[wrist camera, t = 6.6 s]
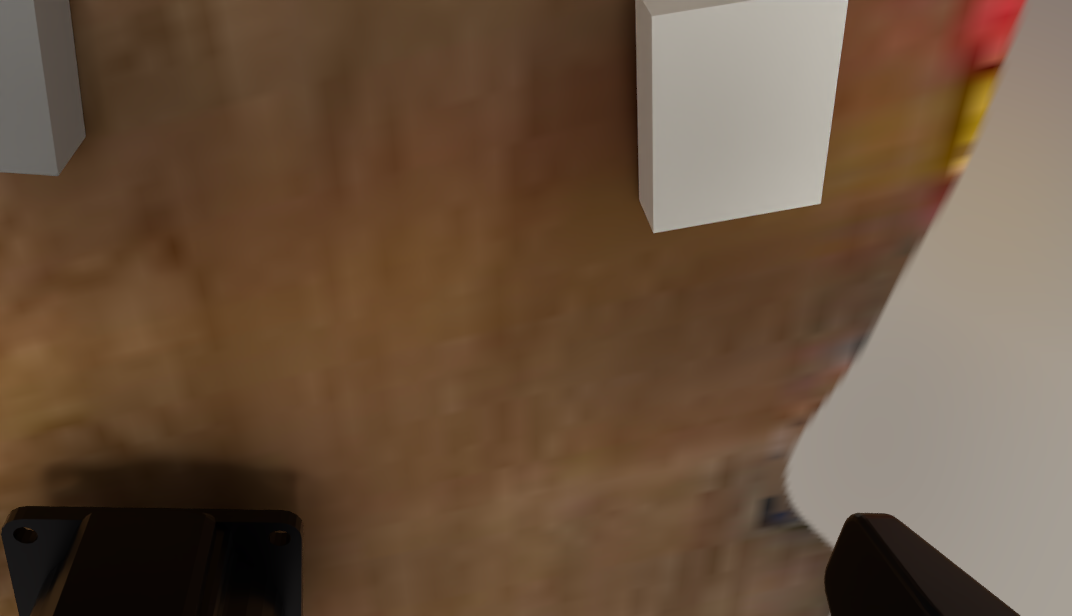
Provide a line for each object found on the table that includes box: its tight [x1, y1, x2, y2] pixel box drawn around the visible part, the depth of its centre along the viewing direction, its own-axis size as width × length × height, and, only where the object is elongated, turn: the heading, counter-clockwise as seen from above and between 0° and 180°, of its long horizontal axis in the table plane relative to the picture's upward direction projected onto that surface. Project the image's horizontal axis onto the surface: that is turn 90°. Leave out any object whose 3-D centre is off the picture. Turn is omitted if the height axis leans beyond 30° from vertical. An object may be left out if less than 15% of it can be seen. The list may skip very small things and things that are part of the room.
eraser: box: [635, 0, 848, 233], centre depth 19 cm, size 1×5×4 cm
